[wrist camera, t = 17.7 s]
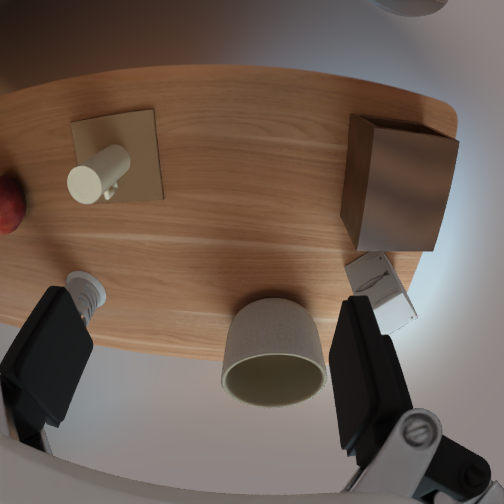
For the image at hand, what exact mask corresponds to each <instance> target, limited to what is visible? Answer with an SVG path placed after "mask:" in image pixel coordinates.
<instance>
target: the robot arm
mask: <svg viewBox="0 0 504 504" xmlns="http://www.w3.org/2000/svg"><path fill="white" fill-rule="evenodd" d="M92 349H93V341H92V339H91V337H90V335H89V333H88V331H87V329H86V327H85V325H84V323H83V320H82V318H81V316H80V314H79V312H78V310H77V308H76V305H75V303H74V301H73V299H72V296H71V294H70V292H68V291H67V289H66V288H65V287H60V286H50V287H49V288H48V289H47V291H46V292H45V293H44V295H43V296H42V298H41V299H40V301H39V302H38V304H37V305H36V307H35V308H34V310H33V311H32V313H31V314H30V316H29V317H28V319H27V320H26V322H25V323H24V325H23V326H22V328H21V330H20V332H19V333H18V335H17V336H16V338H15V339H14V341H13V343H12V345H11V346H10V348H9V350H8V351H7V353H6V355H5V356H4V358H3V360H2V362H1V364H0V373H1V374H0V504H504V488H503V487H502V486H501V485H500V484H499V483H498V481H494V482H493V481H492V480H491V470H490V466H489V464H488V463H487V461H486V460H485V459H483V458H482V457H481V456H479V455H477V454H475V453H474V452H471V451H470V450H468V449H466V448H465V447H463V446H461V445H459V444H458V443H456V442H454V441H453V440H451V439H449V438H447V437H446V436H444V435H442V425H441V423H440V420H439V419H438V418H437V416H436V415H435V414H433V413H432V412H430V411H429V410H426V409H421V408H415V409H413V405H412V402H411V399H410V395H409V392H408V388H407V385H406V382H405V379H404V376H403V372H402V369H401V366H400V363H399V360H398V357H397V354H396V351H395V348H394V345H393V342H392V340H391V338H390V336H389V335H386V334H385V335H381V332H380V329H379V326H378V323H377V320H376V317H375V314H374V311H373V309H372V306H371V303H370V300H369V298H368V296H367V295H360V296H349V298H348V300H344V301H343V302H342V306H341V310H340V314H339V318H338V322H337V326H336V330H335V333H334V337H333V341H332V345H331V348H330V352H329V366H330V373H331V379H332V385H333V392H334V399H335V406H336V413H337V420H338V428H339V435H340V443H341V448H342V449H343V450H345V449H347V456H356V462H357V465H358V466H359V467H358V469H357V470H356V472H355V473H354V474H353V476H352V477H351V478H350V480H349V481H348V482H347V484H346V485H345V486H344V487H343V489H342V490H341V491H340V492H339V493H319V494H304V495H303V494H301V495H245V494H226V493H213V492H203V491H195V490H187V489H179V488H173V487H167V486H161V485H155V484H150V483H145V482H140V481H135V480H131V479H127V478H123V477H119V476H115V475H111V474H107V473H104V472H100V471H97V470H93V469H90V468H87V467H84V466H80V465H78V464H75V463H71V462H69V461H66V460H63V459H60V458H58V457H55V456H53V454H52V451H51V448H50V445H49V442H48V439H47V436H46V433H45V430H44V424H45V422H46V423H47V424H48V425H51V426H54V427H57V428H58V427H59V425H60V422H62V421H63V420H64V418H65V416H66V413H67V410H68V408H69V405H70V402H71V400H72V397H73V395H74V392H75V390H76V387H77V385H78V383H79V380H80V378H81V375H82V373H83V370H84V368H85V366H86V363H87V361H88V359H89V357H90V354H91V352H92Z"/></svg>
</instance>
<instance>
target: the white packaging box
mask: <svg viewBox="0 0 504 504" xmlns="http://www.w3.org/2000/svg"><path fill="white" fill-rule="evenodd" d="M345 270H346V273H347V276H348V279H349V282H350V285H351V288H352V291H353V294H354V296H360V295H367V296H368V298H369V300H370V303H371V306H372V309H373V311H374V314H375V317H376V320H377V323H378V326H379V329H380V332H381V335H385V334H386V335H389V334H391V333H393V332H394V331H396V330H398V329H400V328H401V327H403V326H405V325H406V324H408V323H410V322H412V321H413V320H415V319H417V318H418V316H417V314H416V312H415V309H414V307H413V305H412V303H411V301H410V299H409V297H408V295H407V293H406V291H405V289H404V287H403V285H402V283H401V281H400V279H399V277H398V275H397V273H396V271H395V270H394V268H393V266H392V265H391V263H390V261H389V260H388V258H387V257H386V255H385V254H384V252H383V251H369V252H367V253H366V254H364V255H363V256H361V257H360V258H358V259H357V260H355V261H353V262H352V263H350V264H348V265H347V266H345Z"/></svg>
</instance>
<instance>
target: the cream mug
mask: <svg viewBox="0 0 504 504" xmlns="http://www.w3.org/2000/svg"><path fill="white" fill-rule="evenodd" d="M129 167H130V156H129V154H128V152H127V151H126V149H125V148H123V147H122V146H120V145H117V144H112V145H108V146H107V147H105V148H103V149H102V150H100V151H99V152H97V153H96V154H94V155H93V156H91V157H90V158H88V159H87V160H85V161H84V162H82V163H81V164H79V165H78V166H76V167H75V168H73V169H72V170H71V172H70V173H69V175H68V179H67V185H68V189H69V192H70V194H71V195H72V197H73V198H74V199H75V200H77V201H78V202H80V203H82V204H92V203H94V202H95V201H97V200H98V199H99V198H100V197H101V196H102V195H103V194H104V198H105V199H106V200H109V199H110V198H111V197H112V196H113V195H114V194H115V193H116V192H117V191H118V184H117V181H118V180H119V179H120V178H121V177H122V176H123V175H124V174H125V173H126V172H127V171H128V169H129ZM111 186H112V188H111V189H110V190H109V188H110V187H111Z"/></svg>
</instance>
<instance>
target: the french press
mask: <svg viewBox="0 0 504 504" xmlns="http://www.w3.org/2000/svg"><path fill="white" fill-rule="evenodd" d="M66 286H67V287H65V288H66V289H67V291H68V292H70V294H71V296H72V299H73V301H74V303H75V305H76V308H77V310H78V312H79V314H80V316H81V315H82V314H83V316H84V317H83V319H82V320H83V323H84V325H85V327H87V325H88V323H89V321H90V319H91V317H92V315H93V313H94V312H95V310H96V308H97V307H99V306H102V305H103V304H104V303H105V301H106V292H105V290H104V288H103V286H102V284H101V283H100V282H99V281H98V280H97V279H96V278H95V277H93V276H92V275H90V274H89V273H86V272H83V271H73V272H71V273H70V274H68V276H67V278H66ZM86 306H87V307H89V308H88V310H87V307H86Z"/></svg>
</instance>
